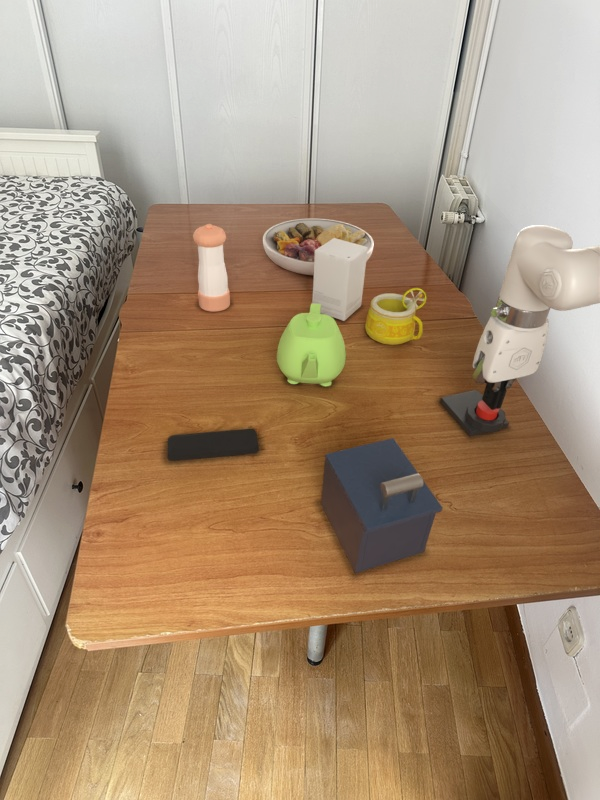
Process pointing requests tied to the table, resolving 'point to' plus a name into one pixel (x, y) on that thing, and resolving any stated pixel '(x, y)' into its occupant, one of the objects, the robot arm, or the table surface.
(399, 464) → the blue drawer with handle
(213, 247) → the pepper shaker
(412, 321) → the mug
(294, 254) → the bowl
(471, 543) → the table surface
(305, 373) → the teapot
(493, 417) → the button
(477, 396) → the switch block
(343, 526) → the lidded box
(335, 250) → the white product box
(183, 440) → the remote control
